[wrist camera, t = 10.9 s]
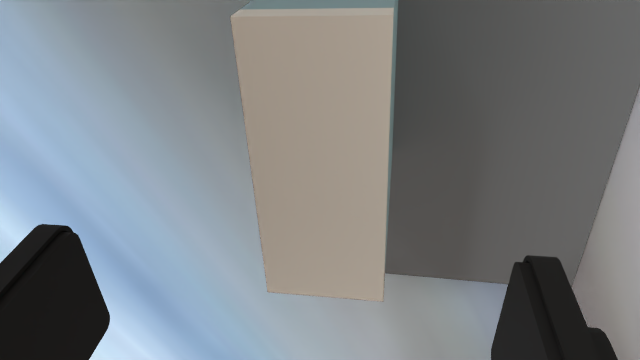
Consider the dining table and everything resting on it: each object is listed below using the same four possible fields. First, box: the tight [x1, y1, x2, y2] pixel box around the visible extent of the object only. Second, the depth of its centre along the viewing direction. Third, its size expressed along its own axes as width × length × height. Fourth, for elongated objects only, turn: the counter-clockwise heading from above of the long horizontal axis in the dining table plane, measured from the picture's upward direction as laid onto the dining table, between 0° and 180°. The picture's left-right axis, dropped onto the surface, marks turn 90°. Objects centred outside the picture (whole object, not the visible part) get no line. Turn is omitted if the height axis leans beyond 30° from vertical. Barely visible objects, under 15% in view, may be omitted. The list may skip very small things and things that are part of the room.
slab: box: [230, 0, 398, 302], centre depth 14 cm, size 7×3×8 cm, turn 2°
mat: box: [385, 0, 640, 287], centre depth 19 cm, size 12×11×1 cm
